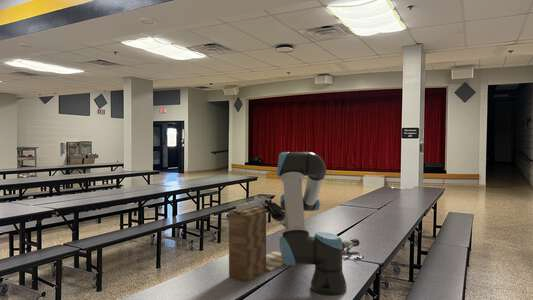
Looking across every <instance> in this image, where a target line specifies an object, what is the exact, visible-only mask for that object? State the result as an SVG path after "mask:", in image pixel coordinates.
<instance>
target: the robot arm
mask: <svg viewBox="0 0 533 300" xmlns="http://www.w3.org/2000/svg"><path fill="white" fill-rule="evenodd" d="M278 155H279V156H278V161H277V170H276V171H277V172H276V176H277V177H279V179H280V181H281V182H282V183H283V194H282V195H280V205H278V204H277V202H272V201H273V200H271V199H270V200H269V201H268V200H267V199H266V198H267V197H264V196H263V195H261V196H258V195H255V194H254V198H253V201H255V200H260V202H262V203H263V204H264V205H266V206H263V210H266V212H268V213H269V214H270V216H271V218H272V219H273V220H275V221H276V222H277V223H278V224H279V225H281V226H283V227H284V228H285V230H283V232H282V236H280V237H279V249H280V251H279V252H281V256H282V260H283V262H284V264H283V265H288V266H306V265H307V266H309V265H310V266H311V265H312V266H314V272H313V275H312V277H311V278H312V279H311V280H310V289H311V290H312V291H313V292H315V293H318V294H320V295H326V296H337V295H341V294H344V293H345V292H346V291H347V282H346V278H345V275H344V271H343V251H342V249H343V246H342V242H343V240H342V238H341V237H340V236H339V235H337V234H334V233H331V232H324V231H323V232H322V231H320V232H319V231H318V232H316V233H315V234H314V236H310V231H308V230H307V229H306V226H305V224H306V222H305V212H317V211H319V210H320V204H321V203H320V199H319V198H318V196H319V193H320V189H321V186H322V182H323V180H324V179H325V177H326V174H327V166H326V164H325V162H324V160H323V158H322V157H321V156H319V155H318V154H316V153H314V152H311V151H293V152H291V151H287V152H286V151H283V152H280V153H279V154H278ZM305 177H306V183H305V189H304V193H303V183H302V181H303V180H304V179H305ZM303 194H304V195H303Z"/></svg>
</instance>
